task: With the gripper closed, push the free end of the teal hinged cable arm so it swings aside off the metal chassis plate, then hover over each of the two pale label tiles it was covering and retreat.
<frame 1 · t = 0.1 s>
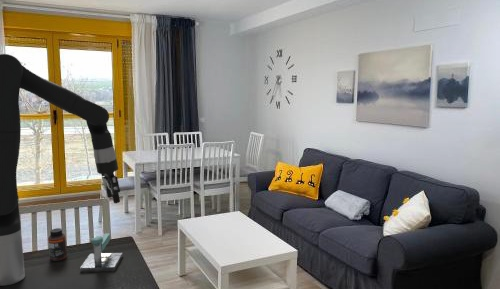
hand: (113, 199, 152), 22 cm above the table, tool pointing down, fingers open, 8 cm apart
supplement bottle: (58, 258, 152), on the table
cable arm: (101, 240, 147), point 9 cm above the table, hinge at 0.0°
chassis plate: (102, 263, 148), on the table
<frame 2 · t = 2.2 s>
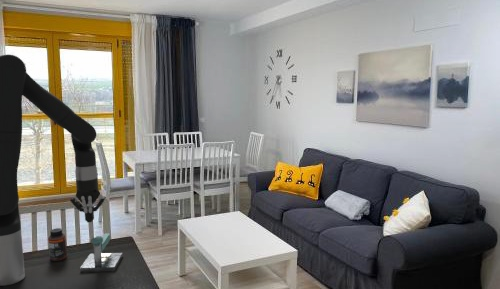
hand: (89, 221, 150), 14 cm above the table, tool pointing down, fingers closed
nothing on the table moved.
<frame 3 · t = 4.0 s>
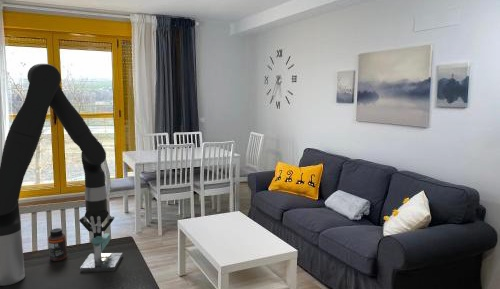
hand: (98, 241, 152), 7 cm above the table, tool pointing down, fingers closed
cable arm: (101, 240, 147), point 9 cm above the table, hinge at 0.1°, touching gripper
everything else where it was.
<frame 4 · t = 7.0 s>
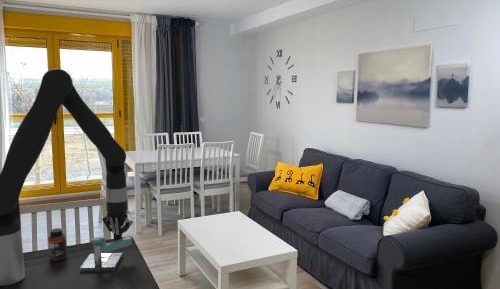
hand: (118, 242, 151), 7 cm above the table, tool pointing down, fingers closed
cable arm: (111, 242, 146), point 9 cm above the table, hinge at 48.9°, touching gripper
everything else where it was.
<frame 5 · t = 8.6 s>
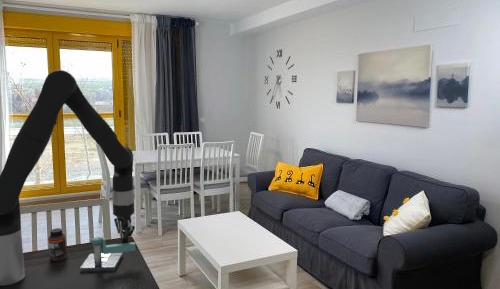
hand: (124, 246, 148), 7 cm above the table, tool pointing down, fingers closed
cable arm: (113, 244, 143), point 9 cm above the table, hinge at 77.0°, touching gripper
everything else where it was.
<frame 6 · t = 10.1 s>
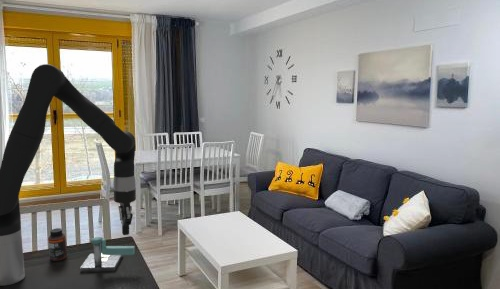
hand: (125, 234, 144), 12 cm above the table, tool pointing down, fingers closed
cable arm: (112, 246, 142), point 9 cm above the table, hinge at 93.0°
everything else where it was.
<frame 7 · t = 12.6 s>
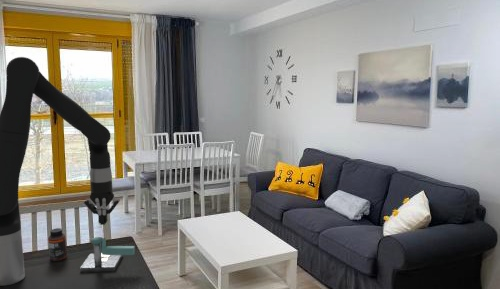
hand: (103, 224, 149), 14 cm above the table, tool pointing down, fingers closed
nothing on the table moved.
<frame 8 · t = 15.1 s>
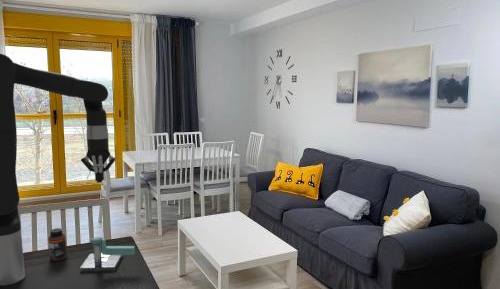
hand: (99, 181, 152), 29 cm above the table, tool pointing down, fingers closed
nothing on the table moved.
at the end: cable arm at +93° (first picture: +0°); supplement bottle moved 0.2 cm from its start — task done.
